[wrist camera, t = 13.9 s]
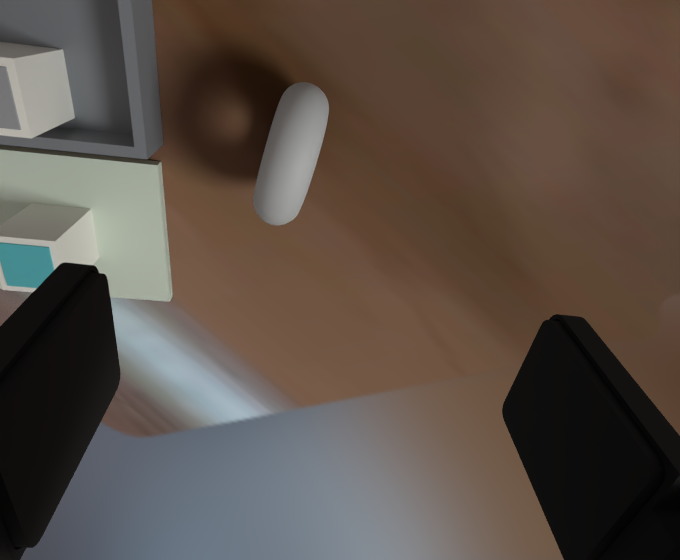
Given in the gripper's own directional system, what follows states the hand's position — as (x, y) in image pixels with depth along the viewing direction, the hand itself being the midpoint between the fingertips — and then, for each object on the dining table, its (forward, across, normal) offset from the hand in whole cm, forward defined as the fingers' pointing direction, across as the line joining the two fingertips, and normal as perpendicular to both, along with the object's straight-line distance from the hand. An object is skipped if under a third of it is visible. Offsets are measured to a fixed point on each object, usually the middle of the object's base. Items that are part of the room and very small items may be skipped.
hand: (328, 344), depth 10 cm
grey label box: (+28, +20, +2) cm, 35 cm away
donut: (+29, +2, +4) cm, 30 cm away
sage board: (+29, +20, +14) cm, 38 cm away
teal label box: (+28, +20, +14) cm, 37 cm away
